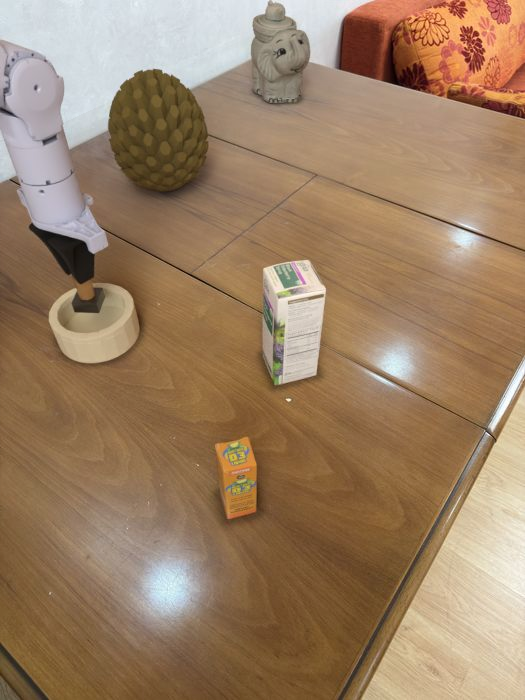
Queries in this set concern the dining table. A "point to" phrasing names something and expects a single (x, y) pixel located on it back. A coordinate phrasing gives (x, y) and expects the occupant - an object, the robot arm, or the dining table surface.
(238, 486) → the supplement box
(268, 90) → the grey elephant figurine
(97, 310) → the wooden handle stamp
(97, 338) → the cream ceramic ramekin
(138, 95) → the decorative object
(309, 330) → the syrup box
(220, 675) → the dining table surface
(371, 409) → the dining table surface
